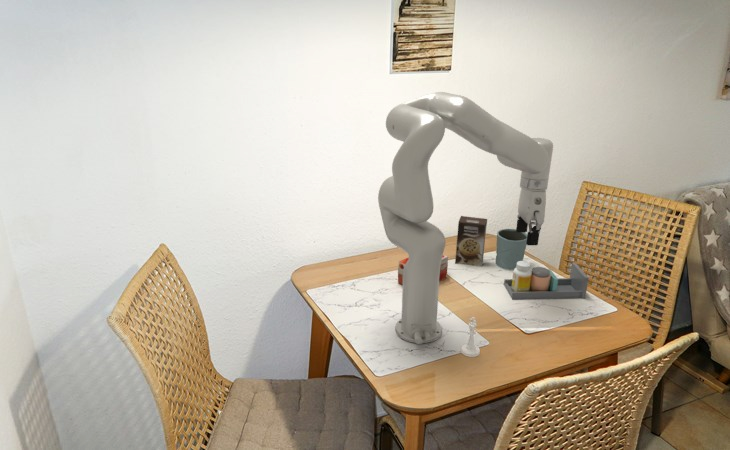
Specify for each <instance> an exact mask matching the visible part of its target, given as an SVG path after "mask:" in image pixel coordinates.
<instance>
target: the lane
mask: <svg viewBox="0 0 730 450" xmlns="http://www.w3.org/2000/svg"><path fill="white" fill-rule="evenodd" d="M557 278H558V277H557ZM589 278H590V277H589V276H588V275H587V274H586V273H585V272H584V271H583V270H582V268H581V267H580V266H579V265H578V264H577V263H576V262H572V263H571V267H570V274H569V277H566V278H565V277H561V278H558V284H557V291H536V292H512V290H511V287H512V279H513V278H511V279H509V278H508V279H504V280H503V286H504V288H505V289H506V291H507V293H508V295H509V296H510V298H511V299H512V301H525V300H526V301H533V300H575V299H576V300H584V299H586V296H587V289H588V284H589Z"/></svg>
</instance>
